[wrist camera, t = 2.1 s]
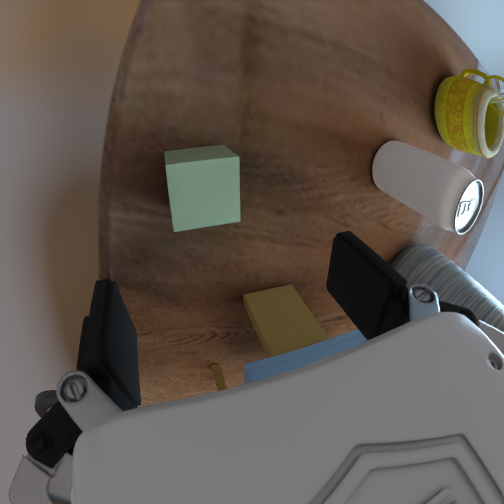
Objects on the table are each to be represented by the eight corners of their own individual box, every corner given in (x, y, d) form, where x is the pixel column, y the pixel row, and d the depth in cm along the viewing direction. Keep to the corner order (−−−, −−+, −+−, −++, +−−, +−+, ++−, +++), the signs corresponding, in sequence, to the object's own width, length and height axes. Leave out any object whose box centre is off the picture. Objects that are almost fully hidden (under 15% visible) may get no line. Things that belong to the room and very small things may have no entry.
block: (170, 206, 23) (173, 232, 19) (163, 151, 21) (165, 165, 17) (225, 198, 25) (240, 221, 21) (223, 144, 22) (239, 156, 18)
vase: (426, 270, 43) (509, 351, 25) (381, 308, 44) (461, 404, 25) (426, 223, 36) (536, 313, 18) (373, 265, 37) (484, 382, 18)
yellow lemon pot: (458, 153, 31) (519, 183, 22) (421, 133, 27) (500, 164, 18) (471, 81, 25) (534, 100, 15) (435, 48, 21) (514, 60, 12)
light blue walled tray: (247, 447, 36) (258, 476, 31) (243, 364, 22) (266, 422, 17) (339, 414, 40) (354, 439, 36) (394, 313, 26) (426, 350, 22)
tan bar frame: (211, 369, 37) (231, 432, 29) (199, 303, 30) (221, 381, 22) (312, 342, 42) (344, 393, 33) (327, 275, 34) (375, 332, 26)
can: (404, 186, 31) (476, 230, 21) (368, 194, 30) (445, 246, 20) (408, 138, 27) (490, 172, 18) (370, 140, 26) (460, 178, 16)
